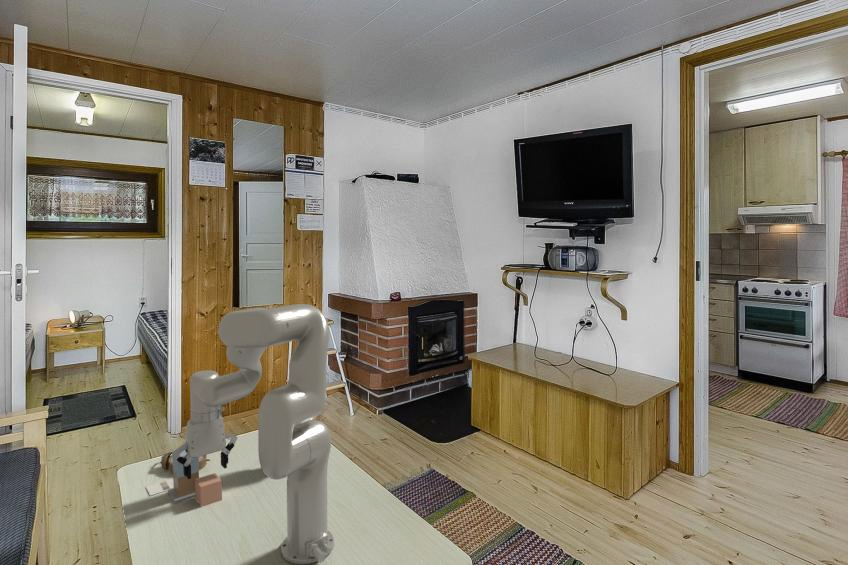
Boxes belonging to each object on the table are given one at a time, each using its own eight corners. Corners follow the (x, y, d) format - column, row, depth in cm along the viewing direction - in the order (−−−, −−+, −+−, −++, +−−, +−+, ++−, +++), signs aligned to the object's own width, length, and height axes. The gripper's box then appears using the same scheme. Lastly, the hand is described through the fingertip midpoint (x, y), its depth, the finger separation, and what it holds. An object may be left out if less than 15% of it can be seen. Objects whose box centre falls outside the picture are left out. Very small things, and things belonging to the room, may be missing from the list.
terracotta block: (222, 500, 134) (221, 480, 133) (201, 507, 130) (200, 487, 130) (215, 491, 138) (215, 472, 138) (195, 498, 135) (194, 479, 134)
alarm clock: (190, 469, 146) (151, 454, 149) (188, 483, 146) (150, 468, 150) (215, 453, 156) (178, 440, 160) (213, 466, 157) (176, 453, 161)
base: (205, 493, 137) (204, 471, 136) (175, 503, 132) (174, 481, 131) (197, 482, 143) (196, 461, 142) (168, 492, 138) (167, 470, 137)
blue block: (199, 471, 136) (198, 452, 136) (178, 478, 133) (177, 457, 132) (193, 464, 140) (192, 445, 140) (173, 470, 137) (172, 451, 136)
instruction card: (183, 485, 141) (183, 484, 141) (150, 496, 135) (150, 495, 135) (178, 477, 146) (178, 476, 146) (145, 487, 140) (145, 486, 140)
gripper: (232, 404, 140) (232, 457, 142) (168, 417, 129) (169, 475, 131) (241, 411, 135) (241, 467, 137) (175, 426, 123) (176, 487, 125)
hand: (206, 471), depth 134 cm, fingers open, 9 cm apart
